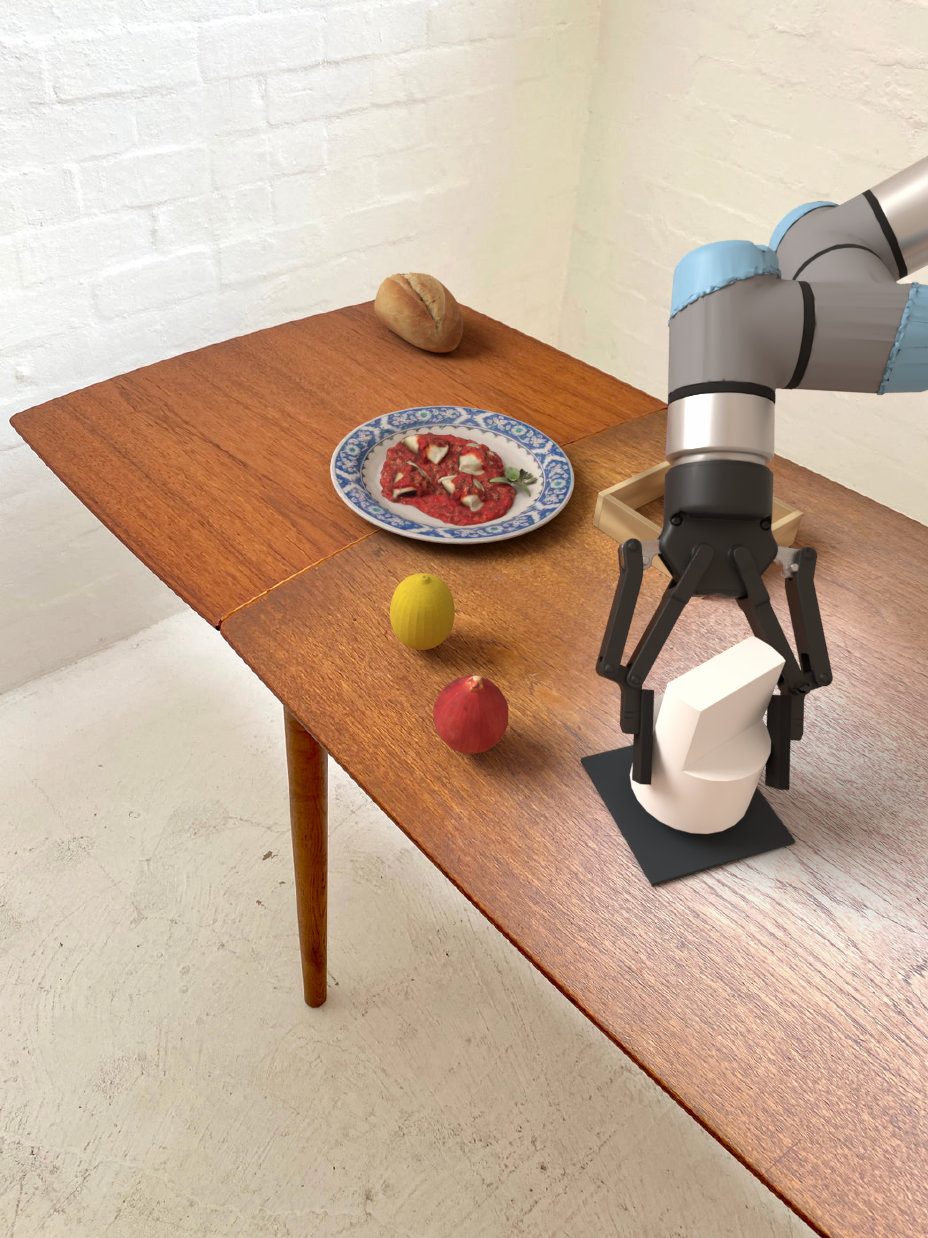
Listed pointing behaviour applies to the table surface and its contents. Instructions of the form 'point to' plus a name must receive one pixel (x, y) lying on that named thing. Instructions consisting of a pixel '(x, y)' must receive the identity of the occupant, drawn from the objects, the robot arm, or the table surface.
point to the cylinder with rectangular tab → (711, 739)
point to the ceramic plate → (452, 474)
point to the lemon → (422, 611)
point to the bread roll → (420, 311)
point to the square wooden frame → (626, 523)
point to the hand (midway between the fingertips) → (709, 784)
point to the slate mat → (671, 848)
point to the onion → (471, 714)
